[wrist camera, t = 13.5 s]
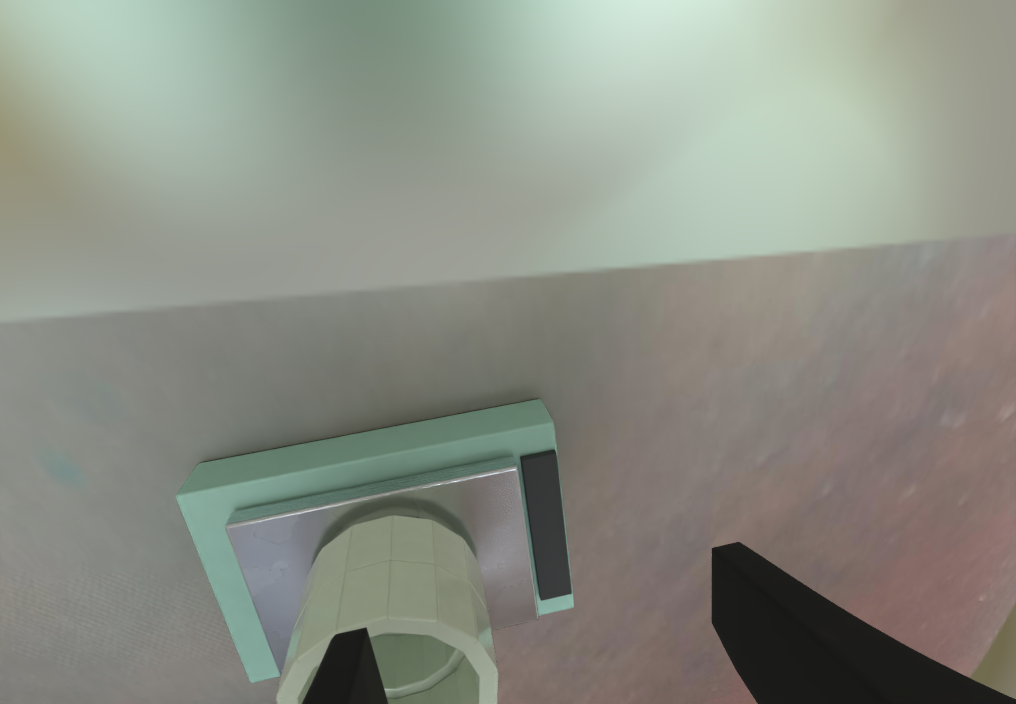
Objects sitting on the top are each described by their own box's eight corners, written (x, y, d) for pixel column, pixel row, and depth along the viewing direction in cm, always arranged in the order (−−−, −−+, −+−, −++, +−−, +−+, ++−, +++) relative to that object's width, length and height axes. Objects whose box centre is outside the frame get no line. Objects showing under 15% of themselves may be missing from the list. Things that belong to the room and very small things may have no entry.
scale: (263, 639, 21) (247, 692, 19) (197, 462, 19) (169, 502, 17) (561, 571, 23) (577, 614, 21) (541, 397, 20) (557, 425, 18)
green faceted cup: (362, 666, 19) (348, 810, 15) (274, 552, 17) (230, 681, 13) (504, 598, 19) (530, 722, 15) (433, 477, 17) (440, 581, 13)
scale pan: (286, 661, 19) (281, 681, 19) (231, 510, 17) (222, 526, 16) (535, 603, 20) (539, 620, 20) (513, 454, 18) (518, 466, 17)
